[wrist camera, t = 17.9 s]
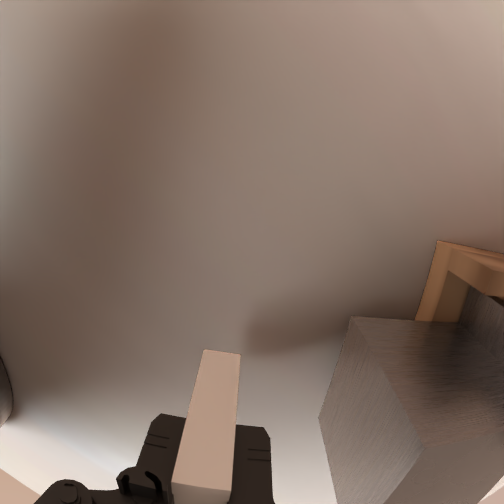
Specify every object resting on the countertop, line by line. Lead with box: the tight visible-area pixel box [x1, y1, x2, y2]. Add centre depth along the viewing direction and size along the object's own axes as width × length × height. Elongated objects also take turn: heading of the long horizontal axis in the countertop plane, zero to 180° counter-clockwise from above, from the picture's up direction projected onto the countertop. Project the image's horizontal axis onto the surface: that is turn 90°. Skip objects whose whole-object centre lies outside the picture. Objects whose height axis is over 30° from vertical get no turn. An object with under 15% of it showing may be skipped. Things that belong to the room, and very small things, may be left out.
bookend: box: [318, 286, 504, 504], centre depth 10 cm, size 7×10×8 cm
